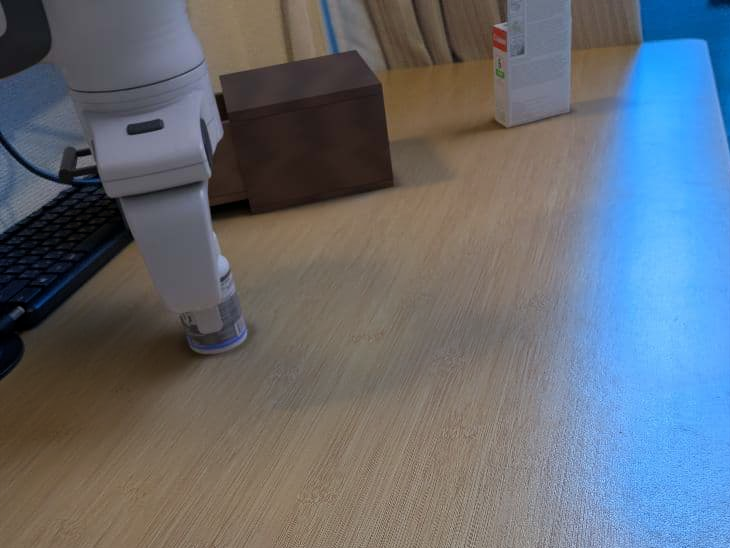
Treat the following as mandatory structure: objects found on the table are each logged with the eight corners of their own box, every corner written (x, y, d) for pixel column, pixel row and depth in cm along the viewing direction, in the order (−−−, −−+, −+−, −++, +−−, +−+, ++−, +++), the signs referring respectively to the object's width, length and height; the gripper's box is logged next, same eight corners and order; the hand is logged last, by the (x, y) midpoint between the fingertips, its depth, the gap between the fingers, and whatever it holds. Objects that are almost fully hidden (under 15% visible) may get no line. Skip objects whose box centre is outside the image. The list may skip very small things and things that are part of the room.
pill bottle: (178, 346, 66) (143, 244, 60) (223, 319, 68) (194, 220, 62) (214, 363, 63) (181, 259, 57) (260, 335, 65) (233, 232, 60)
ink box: (493, 122, 95) (488, -29, 85) (555, 106, 97) (557, -44, 87) (507, 130, 93) (504, -24, 82) (570, 114, 94) (574, -39, 84)
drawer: (77, 240, 81) (44, 157, 76) (84, 194, 90) (55, 118, 85) (260, 203, 83) (241, 119, 77) (250, 162, 92) (232, 84, 86)
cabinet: (252, 216, 83) (227, 112, 76) (242, 171, 93) (218, 75, 86) (394, 188, 84) (382, 83, 77) (369, 145, 94) (356, 49, 87)
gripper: (109, 86, 61) (167, 262, 71) (95, 181, 47) (171, 386, 56) (193, 71, 62) (239, 247, 71) (205, 159, 47) (261, 367, 57)
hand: (209, 310), depth 64 cm, fingers closed on pill bottle, 5 cm apart
